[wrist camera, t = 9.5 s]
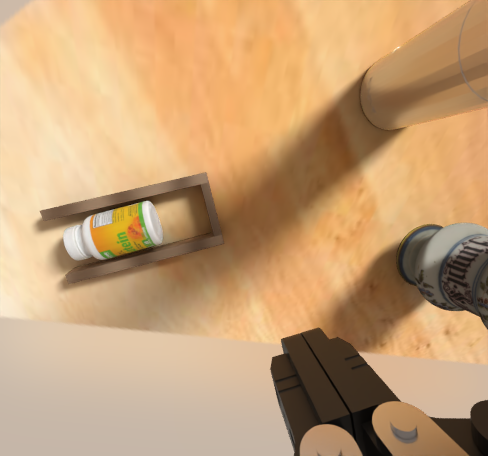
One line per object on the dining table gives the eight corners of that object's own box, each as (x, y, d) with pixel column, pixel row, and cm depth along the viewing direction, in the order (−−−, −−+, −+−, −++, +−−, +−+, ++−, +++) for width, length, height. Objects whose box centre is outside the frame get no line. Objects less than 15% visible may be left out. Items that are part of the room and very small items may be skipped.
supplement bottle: (165, 252, 32) (82, 276, 31) (163, 223, 36) (89, 243, 35) (148, 220, 28) (53, 245, 28) (147, 191, 32) (64, 212, 31)
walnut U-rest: (206, 172, 35) (206, 172, 32) (222, 239, 37) (224, 243, 34) (52, 208, 33) (39, 210, 30) (78, 276, 35) (68, 284, 32)
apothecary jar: (474, 241, 43) (662, 286, 25) (429, 304, 44) (581, 390, 26) (420, 201, 40) (590, 221, 22) (374, 269, 41) (502, 339, 23)
